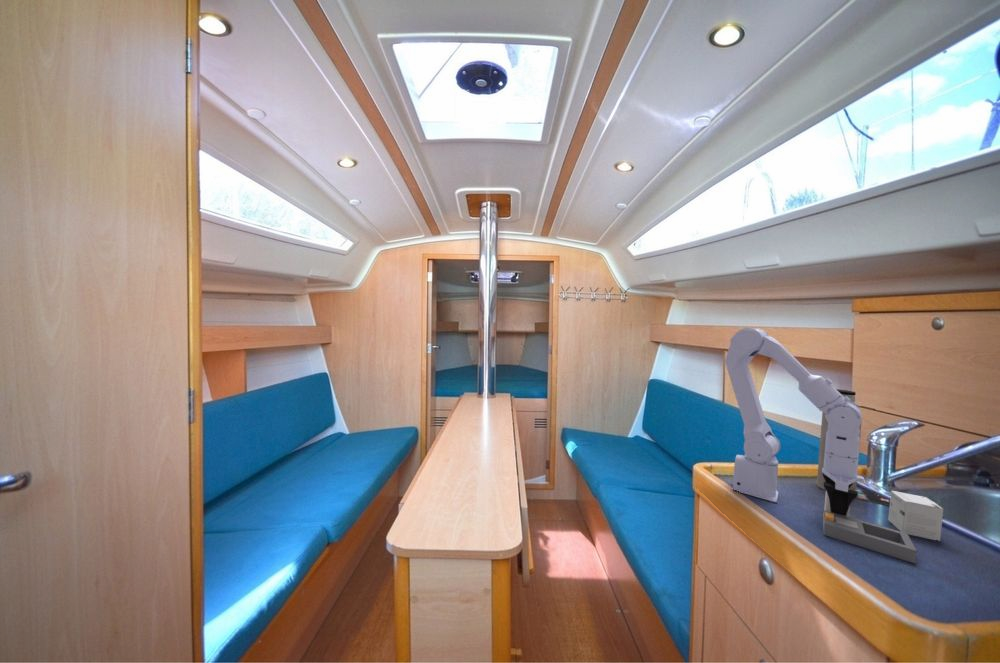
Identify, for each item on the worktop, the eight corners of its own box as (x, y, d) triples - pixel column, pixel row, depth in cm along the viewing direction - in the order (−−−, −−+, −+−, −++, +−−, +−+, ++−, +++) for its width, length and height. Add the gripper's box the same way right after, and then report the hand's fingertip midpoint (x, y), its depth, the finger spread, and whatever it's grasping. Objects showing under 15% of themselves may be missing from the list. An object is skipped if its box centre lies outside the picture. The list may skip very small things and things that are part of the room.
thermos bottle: (836, 483, 104) (844, 388, 104) (864, 497, 96) (872, 393, 96) (809, 482, 104) (816, 386, 104) (834, 495, 97) (842, 392, 96)
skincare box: (887, 520, 85) (889, 489, 84) (923, 528, 82) (926, 496, 82) (902, 533, 79) (905, 500, 79) (941, 542, 76) (944, 508, 76)
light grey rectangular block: (824, 518, 84) (827, 487, 84) (824, 511, 87) (826, 482, 87) (848, 525, 82) (851, 493, 81) (847, 518, 85) (849, 488, 84)
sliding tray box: (823, 534, 77) (824, 520, 77) (822, 520, 83) (823, 507, 83) (915, 563, 68) (916, 547, 68) (906, 545, 75) (907, 530, 74)
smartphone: (849, 489, 102) (849, 485, 102) (928, 507, 93) (928, 502, 93) (857, 501, 95) (857, 496, 95) (943, 520, 87) (943, 515, 87)
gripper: (869, 467, 76) (864, 530, 76) (861, 451, 87) (857, 506, 87) (825, 458, 80) (820, 517, 81) (822, 443, 91) (818, 496, 92)
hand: (836, 511), depth 84 cm, fingers open, 6 cm apart
